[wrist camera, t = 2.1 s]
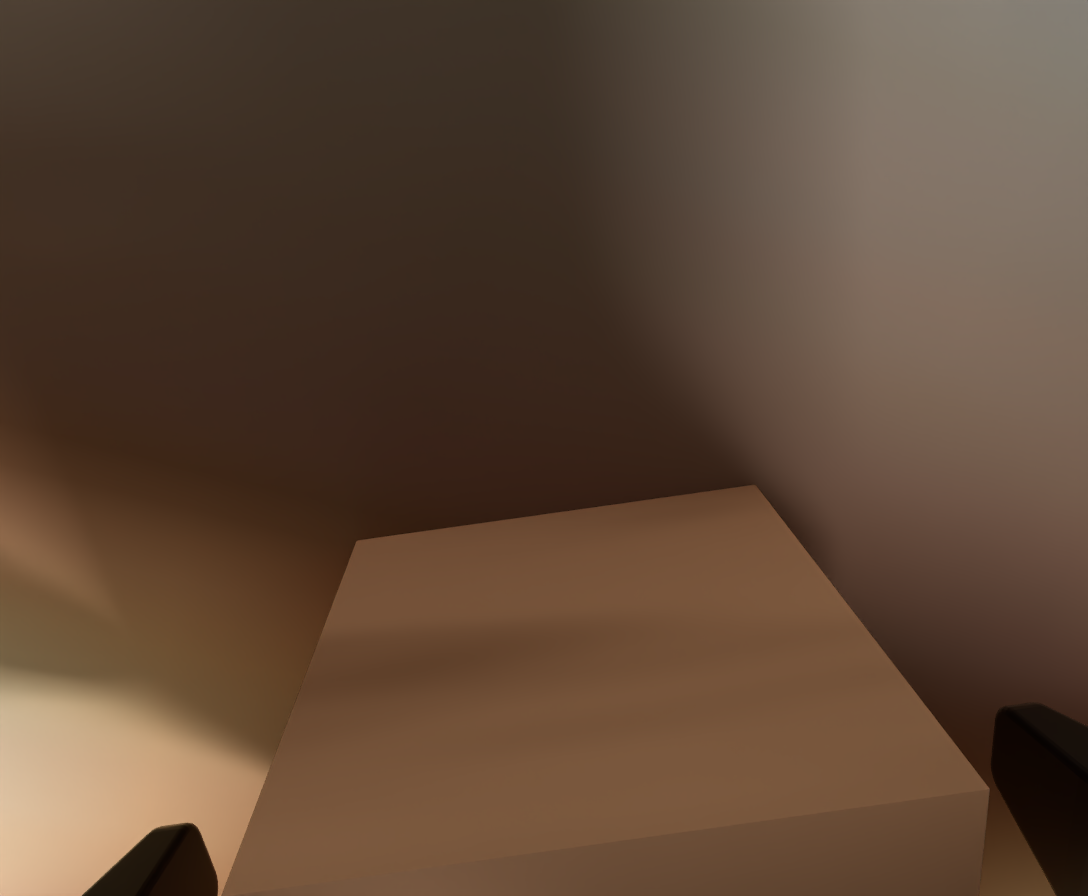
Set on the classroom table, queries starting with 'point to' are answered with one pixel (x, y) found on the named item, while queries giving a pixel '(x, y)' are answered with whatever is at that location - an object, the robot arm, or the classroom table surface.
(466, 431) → the classroom table surface
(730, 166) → the classroom table surface
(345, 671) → the terracotta cube
